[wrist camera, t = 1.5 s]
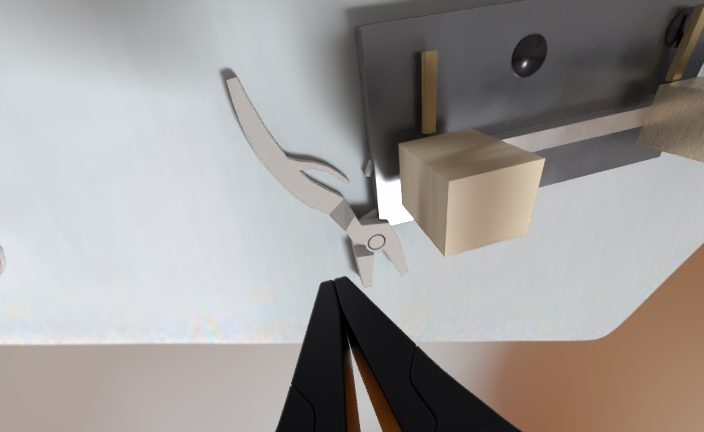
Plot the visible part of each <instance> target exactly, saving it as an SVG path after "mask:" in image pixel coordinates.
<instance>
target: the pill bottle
mask: <svg viewBox="0 0 704 432" xmlns="http://www.w3.org/2000/svg"><path fill="white" fill-rule="evenodd" d="M5 264H6V261H5V256H4V253H3V251H2V249H1V247H0V277H1V275H2V274H3V272H4V269H5Z"/></svg>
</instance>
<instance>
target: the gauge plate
mask: <svg viewBox="0 0 704 432" xmlns="http://www.w3.org/2000/svg"><path fill="white" fill-rule="evenodd" d="M355 29H356V38H357V47H358V57H359V66H360V75H361V85H362V94H363V103H364V112H365V122H366V131H367V140H368V150H369V159H370V160H371V162H372V173H371V177H372V187H373V196H374V205H375V210H376V211H377V218H378V219H379V220H380V221H389V222H390V224H391V225H394V224H398V223H402V222H406V221H410V220H413V218H412V217H411V215H410V214H409V213H408V212H407V211H406V209H405V208H404V207H403V206H402V204H401V184H400V164H399V143H403V142H408V141H413V140H417V139H422V138H426V137H431V136H436V135H440V134H445V133H449V132H454V131H459V130H463V129H468V128H472V129H474V130H477V131H479V132H481V133H484V134H486V135H489V136H491V137H494V138H496V139H499V140H501V141H504V142H506V143H509V144H511V145H514V146H516V147H519V148H521V149H524V150H526V151H529V152H531V153H534V154H536V155H539V156H541V157H544V158H545V162H544V166H543V170H542V175H541V179H540V183H539V187H543V186H547V185H550V184H554V183H558V182H562V181H566V180H570V179H574V178H578V177H582V176H586V175H590V174H593V173H597V172H601V171H605V170H609V169H613V168H617V167H621V166H625V165H629V164H633V163H637V162H640V161H644V160H648V159H652V158H656V157H659V156H660V154H661V152H662V151H663V152H667V153H670V154H674V155H678V156H682V157H685V158H689V159H693V160H697V161H701V162H704V77H703V76H699V77H697V75H698V73H699V71H700V69H701V67H702V64H703V62H704V0H522V1H516V2H509V3H503V4H496V5H490V6H484V7H477V8H471V9H465V10H458V11H452V12H445V13H439V14H433V15H426V16H420V17H414V18H407V19H401V20H394V21H388V22H382V23H375V24H369V25H363V26H358V27H355ZM431 50H438V56H437V99H436V132H434V133H429V134H424V133H422V52H425V51H431ZM539 187H538V188H539Z"/></svg>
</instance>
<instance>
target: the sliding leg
mask: <svg viewBox="0 0 704 432" xmlns="http://www.w3.org/2000/svg"><path fill="white" fill-rule="evenodd" d="M437 56H438V50H431V51H425V52H422V133H424V134H429V133H434V132H436V99H437ZM544 162H545V158H544V157H541V156H539V155H536V154H534V153H531V152H529V151H526V150H524V149H521V148H519V147H516V146H514V145H511V144H509V143H506V142H504V141H501V140H499V139H496V138H494V137H491V136H489V135H486V134H484V133H481V132H479V131H477V130H474V129H472V128H468V129H463V130H459V131H454V132H449V133H445V134H440V135H436V136H431V137H426V138H422V139H417V140H413V141H408V142H403V143H399V164H400V184H401V204H402V206H403V207H404V208H405V209H406V211H407V212H408V213H409V214H410V215H411V217H412V218H413V219H414V220H415V221H416V223H417V224H418V225H419V226H420V228H421V229H422V230H423V231H424V232H425V234H426V235H427V236H428V237H429V238H430V240H431V241H432V242H433V243H434V244H435V246H436V247H437V248H438V249H439V251H440V252H441V253H442V254H443V255H444V257H447V256H450V255H454V254H458V253H461V252H465V251H468V250H472V249H476V248H479V247H483V246H486V245H490V244H493V243H497V242H501V241H504V240H508V239H511V238H515V237H519V236H522V235H526V234H527V232H528V228H529V224H530V220H531V216H532V212H533V208H534V203H535V199H536V195H537V191H538V187H539V183H540V179H541V175H542V170H543V166H544Z"/></svg>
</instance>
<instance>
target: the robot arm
mask: <svg viewBox="0 0 704 432" xmlns="http://www.w3.org/2000/svg"><path fill="white" fill-rule="evenodd" d="M349 344H350V346H349ZM350 348H351V350H352V353H353V356H354V359H355V361H356V364H357V366H358V369H359V372H360V374H361V377H362V379H363V382H364V385H365V387H366V389H367V392H368V395H369V398H370V400H371V403H372V405H373V408H374V410H375V413H376V416H377V418H378V421H379V424H380V426H381V428H382V431H383V432H523V431H521V430H519V429H518V428H517V427H515V426H514V425H513V424H511V423H510V422H509V421H507V420H506V419H505V418H503V417H502V416H501V415H499V414H498V413H497V412H496V411H494V410H493V409H492V408H490V407H489V406H488V405H487V404H485V403H484V402H483V401H482V400H480V399H479V398H478V397H476V396H475V395H474V394H473V393H471V392H470V391H469V390H467V389H466V388H465V387H464V386H462V385H461V384H460V383H458V382H457V381H456V380H455V379H454V378H453V377H451V376H450V375H449V374H448V373H446V372H445V371H444V370H443V369H442V368H441V367H440V366H438V365H437V364H436V363H435V362H434V361H433V360H432V359H431V358H430V357H428V355H427V354H426V353H424V352H423V351H422V350H421V349H420V348H419V347H418V346H416V344H415V343H414V342H413V341H412V340H411V339H410V338H409V337H408V336H407V335H406V334H405V333H404V332H403V331H402V330H401V329H400V328H399V327H398V326H397V325H396V324H395V323H394V322H393V321H392V320H391V319H390V318H389V317H387V316H386V315H385V314H384V313H383V312H382V311H381V310H380V309H379V308H378V307H377V306H376V305H375V304H374V303H373V302H372V301H371V300H370V299H369V298H368V297H367V296H366V295H365V294H364V293H363V292H362V291H361V290H360V289H359V288H358V287H357V286H356V285H355V284H354V283H353V282H352V281H351V280H350V279H349V278H348V277H346V276H344V277H340V278H336V279H334V281H333V280H329V281H325V282H322V283H321V284H320V286H319V290H318V293H317V297H316V300H315V303H314V307H313V310H312V314H311V317H310V320H309V324H308V327H307V331H306V334H305V337H304V341H303V344H302V348H301V351H300V354H299V358H298V362H297V365H296V368H295V372H294V375H293V378H292V382H291V385H292V386H290V388H289V391H288V395H287V398H286V402H285V405H284V408H283V411H282V414H281V417H280V420H279V423H278V426H277V429H276V431H275V432H361V430H360V422H359V414H358V407H357V398H356V391H355V383H354V375H353V367H352V359H351V352H350Z"/></svg>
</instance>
